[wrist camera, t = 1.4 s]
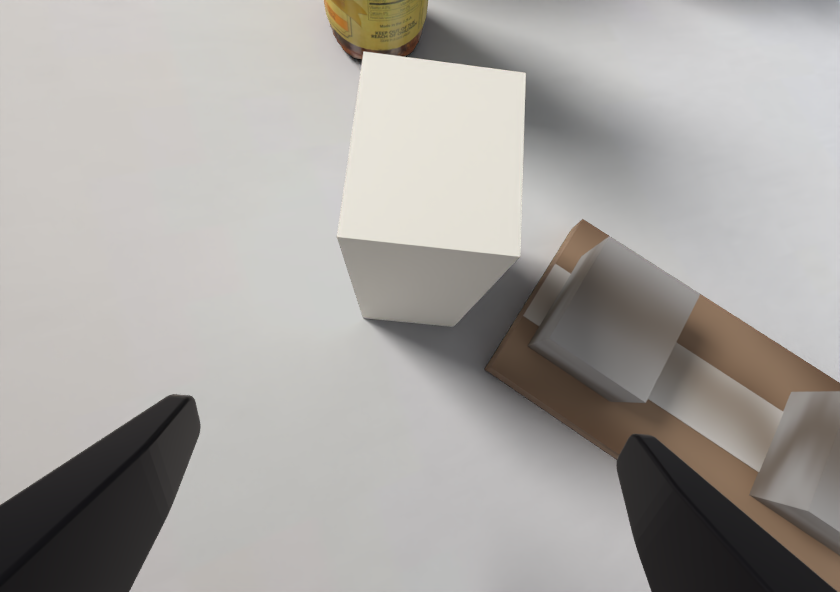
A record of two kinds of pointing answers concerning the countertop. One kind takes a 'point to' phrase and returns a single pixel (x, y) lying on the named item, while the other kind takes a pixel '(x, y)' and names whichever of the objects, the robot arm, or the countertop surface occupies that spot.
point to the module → (431, 187)
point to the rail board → (682, 388)
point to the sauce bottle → (377, 25)
